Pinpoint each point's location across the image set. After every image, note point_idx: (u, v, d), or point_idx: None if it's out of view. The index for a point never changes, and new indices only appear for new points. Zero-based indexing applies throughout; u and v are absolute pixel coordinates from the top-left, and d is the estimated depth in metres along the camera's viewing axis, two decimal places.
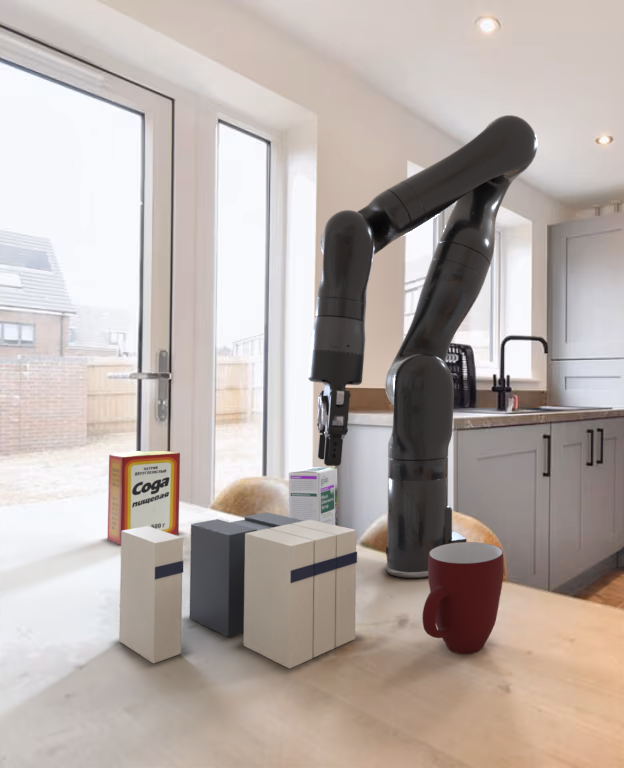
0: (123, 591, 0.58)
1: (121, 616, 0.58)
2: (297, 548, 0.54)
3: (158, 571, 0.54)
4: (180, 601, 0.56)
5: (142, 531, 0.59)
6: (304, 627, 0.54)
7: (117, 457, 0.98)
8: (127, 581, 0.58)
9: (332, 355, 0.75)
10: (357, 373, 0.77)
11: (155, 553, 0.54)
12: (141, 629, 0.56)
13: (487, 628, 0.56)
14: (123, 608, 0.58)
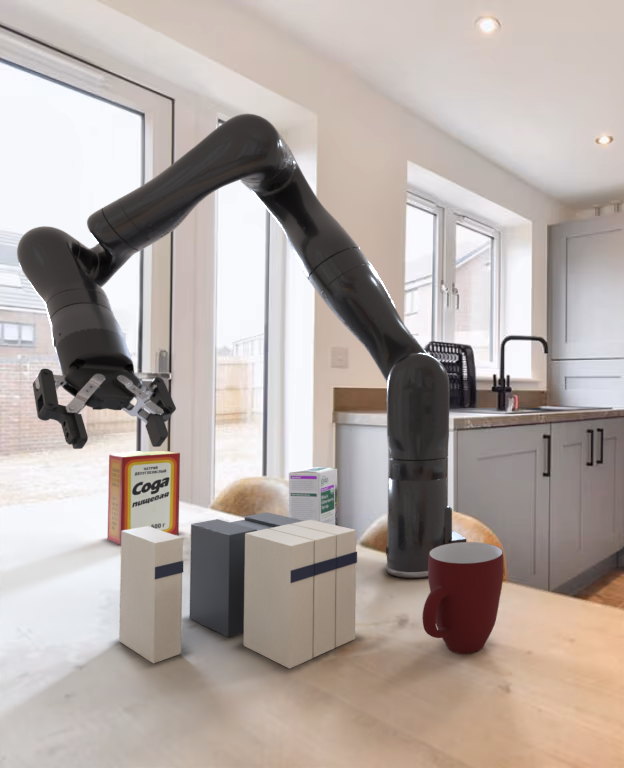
0: (123, 591, 0.58)
1: (121, 616, 0.58)
2: (297, 548, 0.54)
3: (158, 571, 0.54)
4: (180, 601, 0.56)
5: (142, 531, 0.59)
6: (304, 627, 0.54)
7: (117, 457, 0.98)
8: (127, 581, 0.58)
9: (56, 353, 0.69)
10: (80, 347, 0.68)
11: (154, 553, 0.54)
12: (141, 629, 0.56)
13: (487, 628, 0.56)
14: (123, 608, 0.58)
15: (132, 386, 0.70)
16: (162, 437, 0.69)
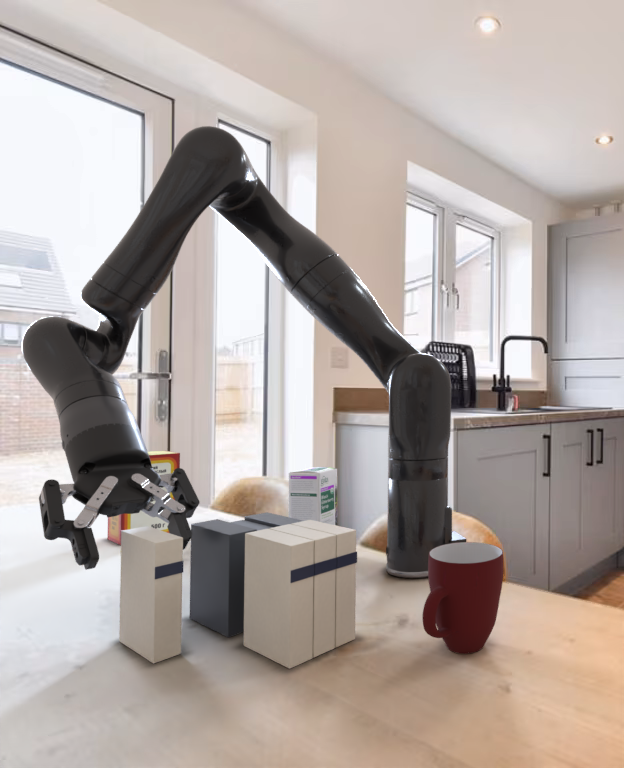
0: (123, 591, 0.58)
1: (121, 616, 0.58)
2: (297, 548, 0.54)
3: (158, 571, 0.54)
4: (180, 601, 0.56)
5: (142, 531, 0.59)
6: (304, 627, 0.54)
7: None
8: (127, 581, 0.58)
9: None
10: (89, 449, 0.61)
11: (154, 553, 0.54)
12: (141, 629, 0.56)
13: (487, 628, 0.56)
14: (123, 608, 0.58)
15: (148, 485, 0.63)
16: (185, 540, 0.61)
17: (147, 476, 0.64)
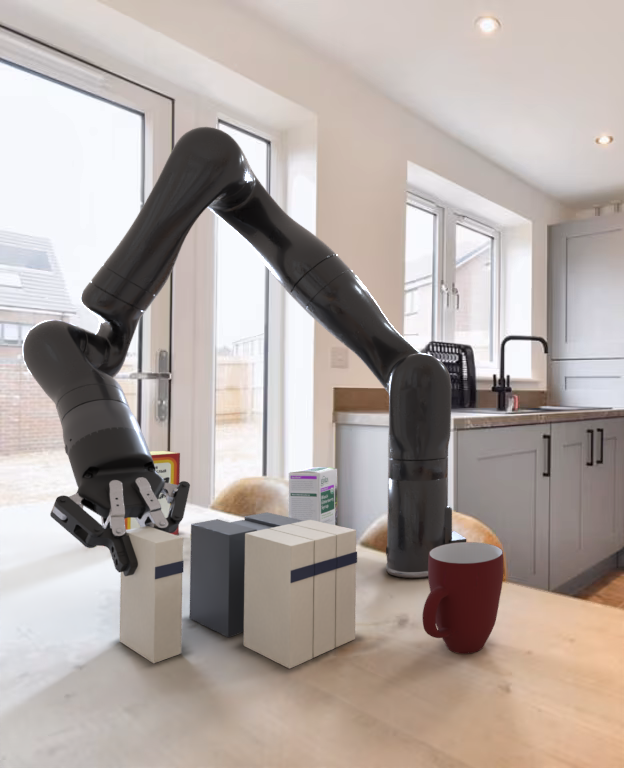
0: (123, 591, 0.58)
1: (121, 616, 0.58)
2: (297, 548, 0.54)
3: (158, 571, 0.54)
4: (180, 601, 0.56)
5: (142, 531, 0.59)
6: (304, 627, 0.54)
7: None
8: (127, 581, 0.58)
9: None
10: (92, 453, 0.61)
11: (155, 553, 0.54)
12: (142, 629, 0.56)
13: (487, 628, 0.56)
14: (123, 608, 0.58)
15: (147, 491, 0.62)
16: None
17: (151, 478, 0.64)
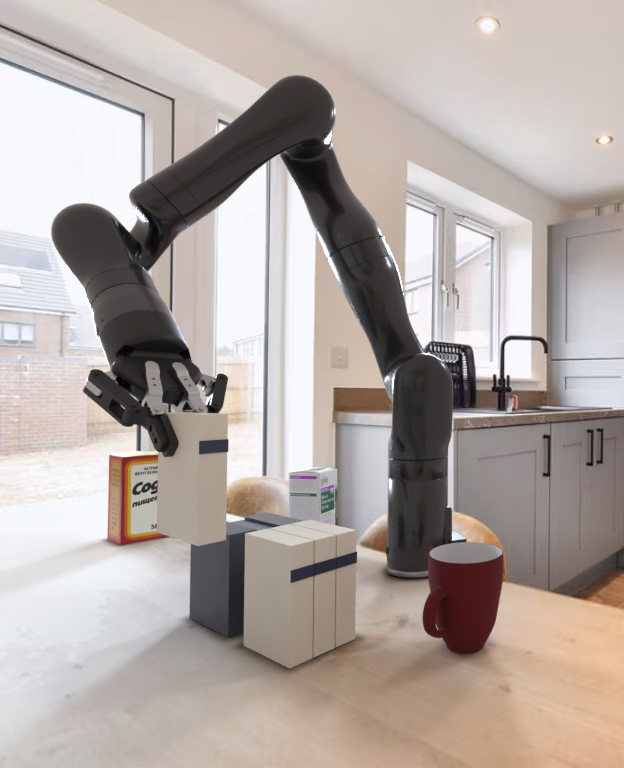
0: (161, 477, 0.54)
1: (159, 504, 0.54)
2: (297, 548, 0.54)
3: (202, 446, 0.50)
4: (225, 483, 0.51)
5: None
6: (304, 627, 0.54)
7: (117, 457, 0.98)
8: (166, 464, 0.53)
9: (101, 344, 0.57)
10: (127, 332, 0.56)
11: (199, 426, 0.49)
12: (183, 512, 0.51)
13: (487, 628, 0.56)
14: (161, 495, 0.54)
15: (185, 376, 0.57)
16: None
17: (188, 366, 0.59)
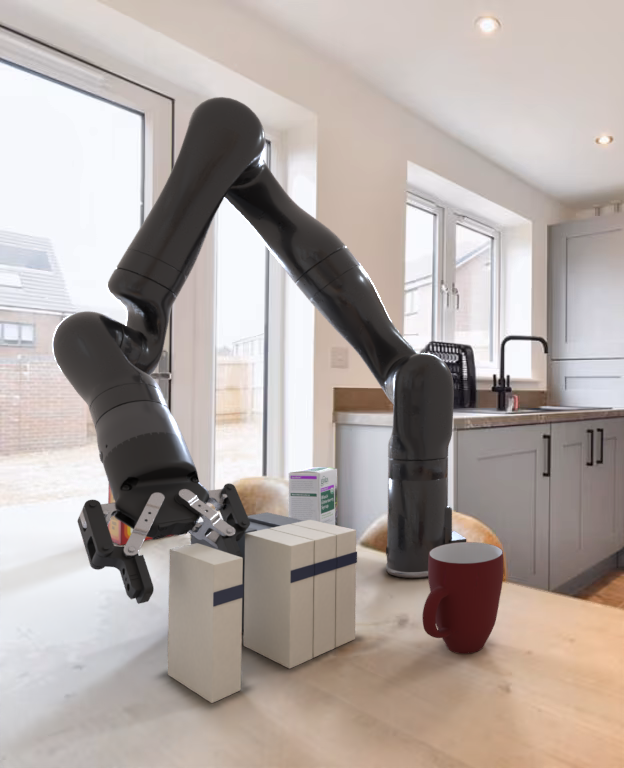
0: (172, 618, 0.51)
1: (170, 646, 0.52)
2: (297, 548, 0.54)
3: (217, 597, 0.47)
4: (240, 630, 0.49)
5: (193, 549, 0.52)
6: (304, 627, 0.54)
7: None
8: (177, 606, 0.51)
9: (105, 470, 0.55)
10: (132, 461, 0.53)
11: (213, 576, 0.47)
12: (196, 663, 0.49)
13: (487, 628, 0.56)
14: (172, 637, 0.51)
15: (197, 502, 0.55)
16: None
17: (195, 491, 0.57)
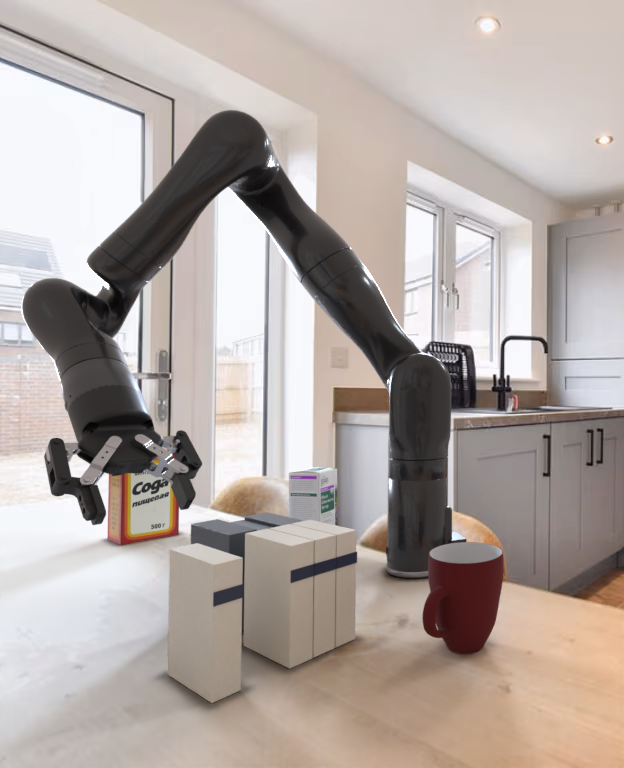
0: (172, 618, 0.51)
1: (170, 646, 0.52)
2: (297, 548, 0.54)
3: (217, 597, 0.47)
4: (240, 630, 0.49)
5: (193, 549, 0.52)
6: (304, 627, 0.54)
7: None
8: (177, 606, 0.51)
9: (69, 417, 0.63)
10: (92, 409, 0.61)
11: (213, 576, 0.47)
12: (196, 663, 0.49)
13: (487, 628, 0.56)
14: (172, 637, 0.51)
15: (152, 445, 0.64)
16: (189, 499, 0.63)
17: (150, 437, 0.65)
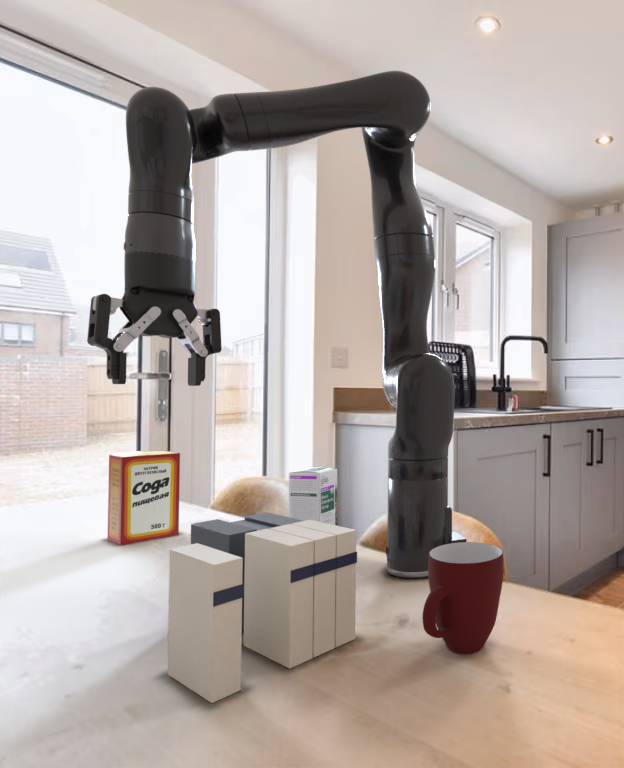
0: (172, 618, 0.51)
1: (170, 646, 0.52)
2: (297, 548, 0.54)
3: (217, 597, 0.47)
4: (240, 630, 0.49)
5: (193, 549, 0.52)
6: (304, 627, 0.54)
7: (117, 457, 0.98)
8: (177, 606, 0.51)
9: (124, 260, 0.66)
10: (145, 275, 0.64)
11: (213, 576, 0.47)
12: (196, 663, 0.49)
13: (487, 628, 0.56)
14: (172, 637, 0.51)
15: (185, 323, 0.69)
16: (197, 384, 0.71)
17: (186, 310, 0.70)
